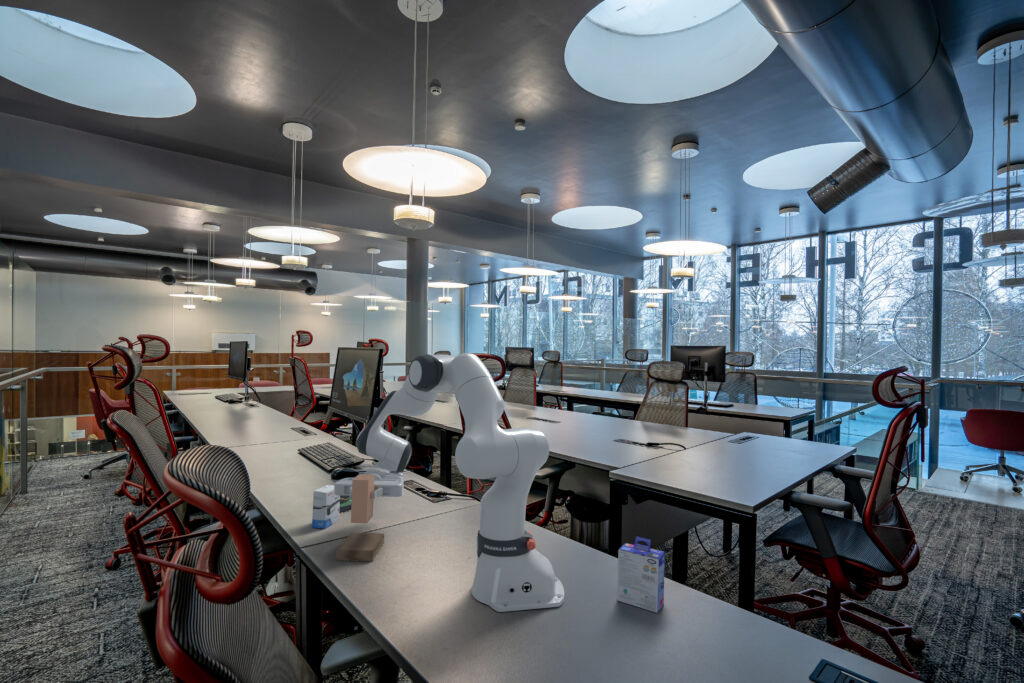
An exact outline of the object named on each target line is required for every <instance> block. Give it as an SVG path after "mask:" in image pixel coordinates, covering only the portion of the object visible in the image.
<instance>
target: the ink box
mask: <svg viewBox="0 0 1024 683" xmlns="http://www.w3.org/2000/svg"><path fill="white" fill-rule="evenodd" d="M334 485H335V484H334ZM334 485H333V484H326V485H323V486H322V487H320V488H317V489H314V491H313V495H312V496H313V497H312V517H311V518H312V519H311V528H314V529H321V528H322V529H323V530H325V528H326V529H327V528H329V527H330V526H332V525H334V524H335V522H336V523H337V522H339V521H340V513H339V507H340V495H335V494H334Z"/></svg>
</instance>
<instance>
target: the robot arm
mask: <svg viewBox="0 0 1024 683" xmlns="http://www.w3.org/2000/svg"><path fill="white" fill-rule="evenodd" d="M407 374H408V375H407V376H406V379H405V380H404V383H403V385H402V387H401V388H400V389H398V390H392V391H390V392H389V393H388V395H387V396H386V397H385V398H384V399H383V400H382V402H381V403H380V405H379V407H377V409H376V411H375V413H373V415H372V417H371V418H370V419H369V421H368V423H367V425H365V427H363V428H362V430H361V431H360V432H359V434H358V436H357V437H356V441H355V446H356V449H357V451H358V453H360V454H362V455H363V456H367V457H370V458H372V459H373V460H377V461H378V462H376V463H375V464H374V465H372V466H371V467H370V468H369V469H368V470H366V471H365V472H364V473H363V474H366V475H374V491H372V492H371V493H370V495H371V496H370V498H374V499H376V498H378V497H388V498H389V497H391V498H395V497H396V498H400V497H402V496H403V495H404V488H405V486H404V484H405V483H404V482H405V481H404V480H405V479H404V471H405V469H406V468H407V467H408V465H409V462H410V460H411V457H412V456H413V448H412V444H411V442H410V441H408V440H406V439H405V438H402V437H400V436H398V435H395V434H393V433H392V432H389V431H387V430H386V429H384V428H383V427H382V425H383V424H384V422H385V421H386V420H387V418H388V417H389V416H390V415H402V416H408V417H417V416H422V415H424V414H427V413H428V412H429V411H430V410H431V408H432V407H433V406H434V404H435V403H436V401H437V399H438V396H439V393H441V394H442V393H444V394H454V396H455V398H456V401H457V403H458V405H459V408H460V411H461V414H462V417H463V419H464V425H465V427H464V428H465V429H464V434H463V436H462V437H461V438H460V440H459V442H458V443H457V445H456V448H455V452H454V454H455V455H454V458H455V463H456V467H457V468H458V470H459V472H460V474H462V475H463V476H464V477H465V478H468V479H476V480H478V479H479V480H487V479H493V478H495V480H494V482H493V484H492V485H491V487H490V488H489V489H488V490H487V491H486V492H485V493H484V494H483V496H482V497H481V500H480V503H479V505H480V506H479V528H478V531H477V536H476V556H477V560H476V568H475V574H474V578H473V582H472V585H471V587H470V593H471V595H472V597H473V598H474V599H475V600H477V601H478V602H480V603H483V604H485V605H487V606H489V607H491V608H492V609H493V610H494V611H495V612H498V613H499V612H500V613H501V612H503V613H505V612H515V611H524V610H535V609H538V610H539V609H547V608H558V607H561V605H562V604H563V603H564V602H565V589H564V585H563V583H562V582H561V580H560V579H559V578H558V577H557V576H556V575H555V570H554V568H553V565H552V563H551V562H550V560H549V559H548V557H546V556H545V555H543V554H542V553H541V552H539V551H538V550H537V549H536V541H535V539H534V536H533V535H532V534H531V533H532V532H531V531H530V530H528V531H527V530H526V528H525V527H526V509H527V502H528V496H529V494H530V489H531V487H532V484H533V481H534V479H535V478H536V475H537V474H538V472H539V470H540V469H541V468H542V467H543V465H544V464H546V462H547V461H548V458H549V456H550V443H549V440H548V438H547V437H546V435H545V433H544V432H542V431H541V430H539V429H536V428H531V427H530V428H529V427H514V428H507V429H506V428H505V429H504V428H501V427H500V425H499V423H498V420H499V419H500V418H501V416H502V415H503V413H504V411H505V401H504V398H503V397H502V394H501V392H500V391H499V390H500V389H499V388H498V386H497V384H496V382H495V380H494V378H493V376H492V375H491V373H490V371H489V370H488V368H487V366H486V365H485V364H484V362H483V361H482V360H481V359H480V357H479V356H478V355H476V354H474V353H470V352H465V353H461V354H458V355H449V354H428V353H427V354H420V355H417V356H416V357H414V358H413V360H412V361H411V363H410V364H409V367H408V373H407ZM354 478H355V477H344V478H341V479H339V480H338V481H335V483H334V494H335V495H342V496H349V497H350V498H352V480H353V479H354Z"/></svg>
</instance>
